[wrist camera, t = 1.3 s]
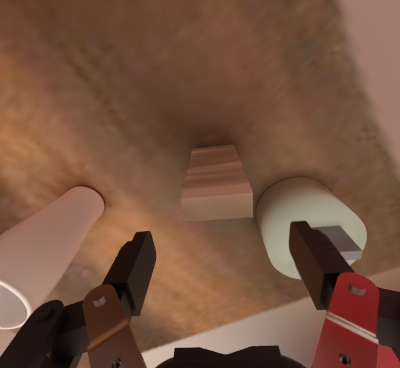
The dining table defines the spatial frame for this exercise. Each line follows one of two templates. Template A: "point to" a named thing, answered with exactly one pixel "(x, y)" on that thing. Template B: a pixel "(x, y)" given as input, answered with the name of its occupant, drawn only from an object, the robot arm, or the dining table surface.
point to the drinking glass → (43, 252)
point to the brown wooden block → (216, 186)
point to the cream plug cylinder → (306, 211)
